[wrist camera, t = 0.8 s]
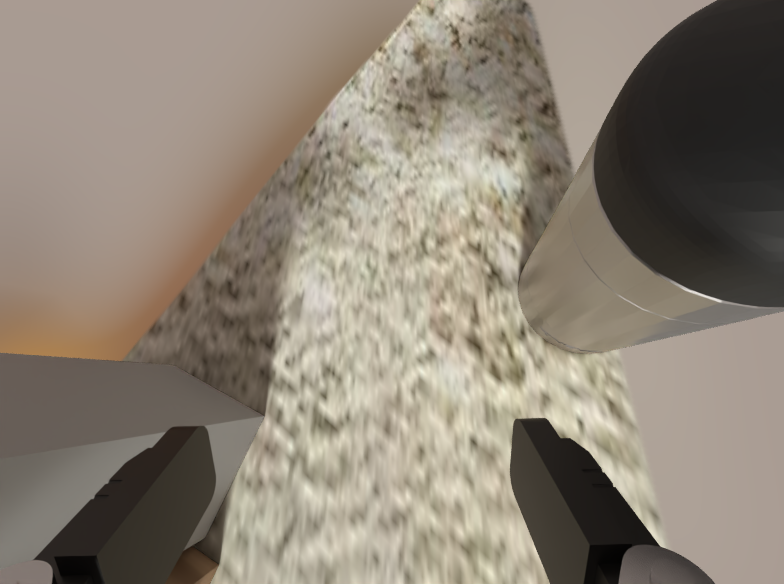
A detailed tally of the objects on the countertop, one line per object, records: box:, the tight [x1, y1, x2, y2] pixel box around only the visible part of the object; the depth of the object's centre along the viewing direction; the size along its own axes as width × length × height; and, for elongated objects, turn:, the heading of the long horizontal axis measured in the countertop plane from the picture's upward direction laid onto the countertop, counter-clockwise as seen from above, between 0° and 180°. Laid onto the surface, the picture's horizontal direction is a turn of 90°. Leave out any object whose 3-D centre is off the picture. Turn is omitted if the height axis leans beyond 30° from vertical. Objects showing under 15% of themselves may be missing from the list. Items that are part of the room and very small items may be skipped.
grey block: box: [0, 353, 264, 570], centre depth 21 cm, size 10×10×22 cm
